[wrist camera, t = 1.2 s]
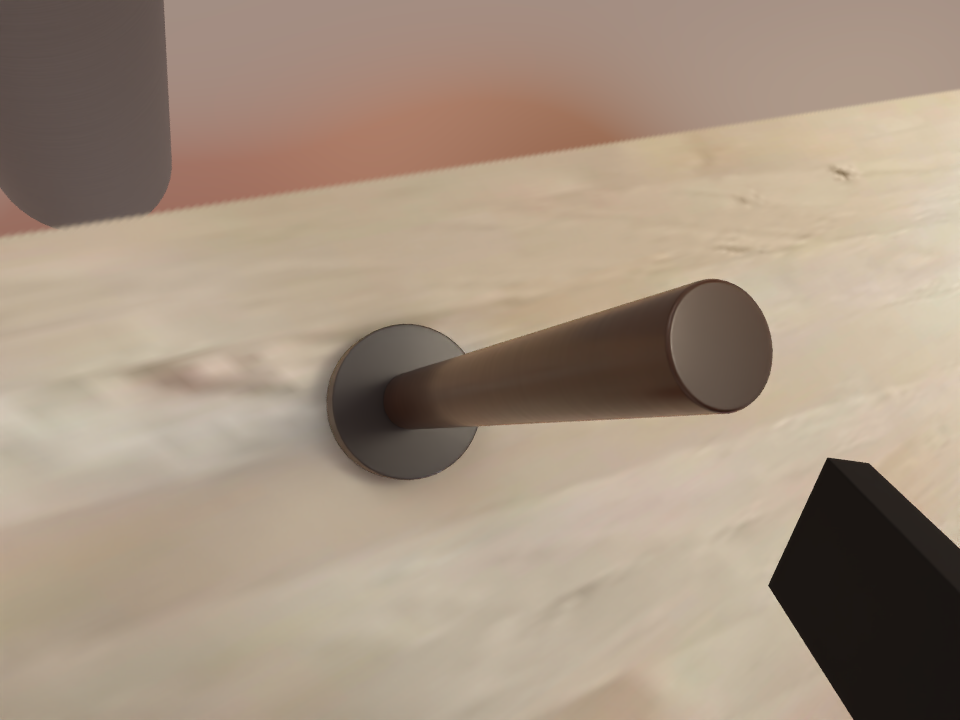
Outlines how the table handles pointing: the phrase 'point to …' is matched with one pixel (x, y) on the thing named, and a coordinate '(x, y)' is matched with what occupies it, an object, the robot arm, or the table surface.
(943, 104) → the table surface
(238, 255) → the table surface
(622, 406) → the peg on round base
